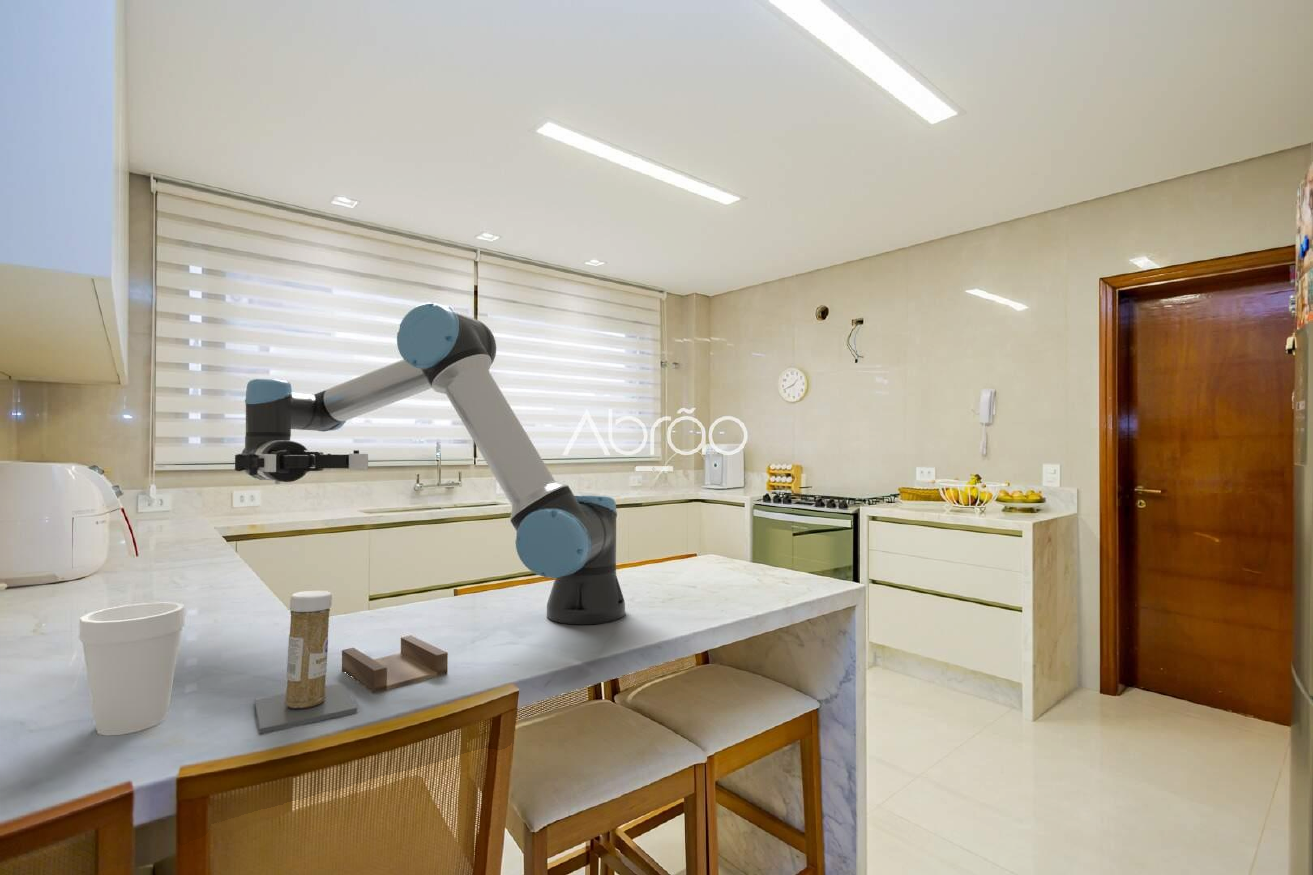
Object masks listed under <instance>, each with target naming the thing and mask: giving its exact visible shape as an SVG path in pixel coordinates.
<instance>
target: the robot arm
mask: <svg viewBox="0 0 1313 875" xmlns="http://www.w3.org/2000/svg"><path fill="white" fill-rule="evenodd" d="M396 345H397V346H396V347H397V350H398V351H399V354H400V356H401V357H402V358H403V359H400V360H397V361H395V362H393V363H390V364H388V365H385V366H383V367H380V368H378V369H375V370H372V371H370V372H367V373H365V374H363V375H360V376H357V377H355V378H351V379H350V380H347V381H344V382H343V383H340V384H337V385H334V386H332V387H329V388H327V389H325V390H323V391H319V392H316V393H313V394H308V393H301V392H300V393H299V392H294V391H293V390H292V389H293V388H292V384H291V383H290V381H287V380H284V379H283V380H282V379H273V378H272V379H271V378H269V379H268V378H254V379H251V380H248V382H247V384H246V390H245V399H244V403H245V436H244V448H243V450H242V452H241V453H238V454H235V455H234V471H237V472H242V471H243V472H244V473H246V474H247V475H248V476H250V477H252V478H253V479H257V480H259V481H274V484H276V485H280V484H281V483H291V482H296V481H298V480H300V479H301V478H304V477H305V476H306V475H307V473H309V472H322V471H323V470H324V469H348V470H351V471H352V470H354V471H368V470H369V454H368V453H360V450H358V449H357V450H353V453H348V454H331V453H324V452H323V451H310V450H308V448H306V446H305V445H304V444H302V443H300V442H298V441H295V440H291V437H292V435H291V434H292V430H299V431H300V430H301V431H318V432H331V431H336V430H337V431H338V430H339V429H341V428H342V427H343V426H344V425H345V423H346V422H347V421H348V420H351V419H354V418H356V417H360V416H362V415H364V414H367V413H370V412H372V411H375V410H378V409H381V408H382V407H385V406H388V405H391V404H393V403H396V402H398V401H402V400H404V399H407V398H409V397H412V396H414V395H418V394H420V393H423V392H426V391H427V390H430V389H432V390H433V391H434V392H436V393H439V394H444V395H445V396H446V397H447V398H448V400H449V402H450V403H451V405H452V407H453V408H454V410H455V411H456V414H457V415H458V417H459V419H460V420H461V422H462V424H463V425H464V427H465V428H466V430H467V432H468V434H469V435H470V437H471V439H472V441H473V443H474V444H475V445H476V447H477V449H478V451H479V453H480V454H481V456H482V458H483V459H484V461H485V463H486V464H487V467H488V468H489V469H490V471H491V473H492V475H493V476H494V478H495V479H496V481H497V483H498V485H499V486H500V489H501V490H502V492H503V493H504V495H505V497H506V498H507V500H508V502H509V503H510V505H511V506H512V508H511V509H512V510H511V513H510V516H509V521H510V523H511V524H512V526H513V528H514V530H515V531H516V536H515V537H516V538H515V549H516V553H517V555H518V558H519V559H520V561H521V563H522V564H523V565H524V566H525V568H527V569H528V570H529V571H530V572H532V573H533V574H536V575H537V576H540V577H543V578H550V579H554V581H553V584H552V588H551V589H550V593H549V597H548V600H547V603H546V617H547V619H549V620H550V621H553V622H557V623H561V624H567V625H568V624H569V625H595V624H604V623H609V622H613V621H617V620H619V619H622V618H623V617H624V616H625V615H626V600H625V598H624V595H623V591H622V588H621V586H620V582H619V579H618V575H617V516H618V511H617V504H616V501H615V499H614V498H613V497H611V496H605V495H604V496H603V495H590V494H588V495H586V494H584V495H583V494H574V493H573V491H572V490H571V488H570V486H569V485H568V484H566V483H561V482H558V481H556V480H555V478H554V476H553V475H552V473H551V472H550V470H549V468H548V467H547V465H546V464H545V462H544V460H543V459H542V457H541V455H540V453H539V452H538V450H537V449H536V447H535V445H534V443H533V441H532V440H531V438H530V437H529V435H528V433H527V432H526V431H525V428H524V427H523V425H522V423H521V422H520V421H519V419H518V417H517V415H516V413H515V412H514V410H513V409H512V408H511V406H510V404H509V402H508V401H507V399H506V397H505V396H504V394H503V393H502V391H501V389H500V387H499V385H498V384H497V382H496V381H495V379H494V377H493V376H492V374H491V373H490V369H491V366H492V364H493V363H494V361H495V358H496V354H497V341H496V339H495V336H494V334H493V332H492V331H491V329H490V328H489V327H488V326H487V325H486V324H485V323H483V322H482V321H481V320H479V319H476V318H474V317H472V316H468V315H466V314H464V313H461V312H459V311H457V310H455V309H453V308H451V307H450V306H448V305H445V304H439V303H435V302H426V303H422V304H420V305H417V306H414V307H413V308H412V309H411V310H409V311H408V313H406V314H405V315H404V317H403V318H402V320H401V322H400V324H399V329H398V331H397V335H396Z"/></svg>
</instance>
